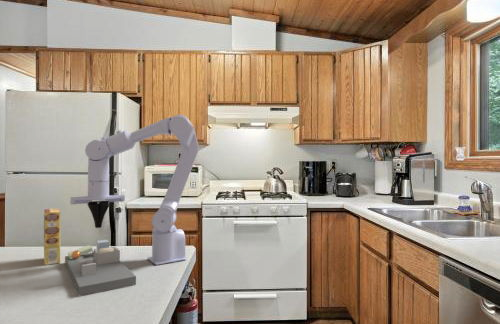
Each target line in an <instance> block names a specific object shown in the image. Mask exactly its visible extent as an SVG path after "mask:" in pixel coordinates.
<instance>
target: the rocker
mask: <svg viewBox="0 0 500 324" xmlns="http://www.w3.org/2000/svg"><path fill="white" fill-rule="evenodd" d="M74 251H79V252H80V253H81V255H84V254H86V253H92V252H93V251H94V249H93V247H92V246H91V245H90V244H88V245H86V246H82V247H80V248H77V249H75V250H71V251H69V252H67V256H69V258H70V259H73V258H72V253H73V252H74Z"/></svg>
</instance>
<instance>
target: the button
mask: <svg viewBox="0 0 500 324" xmlns="http://www.w3.org/2000/svg"><path fill="white" fill-rule="evenodd" d="M110 251H114V248H102V249H100V250H99V253H103V252H110Z"/></svg>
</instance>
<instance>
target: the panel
mask: <svg viewBox="0 0 500 324" xmlns="http://www.w3.org/2000/svg"><path fill="white" fill-rule="evenodd" d="M108 248H114V251H110V252H103V253H99V250H100V249H97V248H96V249H93V251H91V252H89V253H86V254H84V255H81V257H82V259H83V260H84V261H85V262H86V263H87V264H85V265H81V264H80V263H79V261H78V260H77V259H70V258H69V256H68V255H66V256H64V264H65V266H66V269H67V270H68V273H69V275H70V278H71V280H72V283H73V285H74V287H75V289H76V291H77V294H78V296H79V297H81V296H82V297H83V296H88V295H92V294H97V293H102V292H103V293H104V292H108V291H112V290H116V289H122V288H126V287H131V286H136V285H137V276H136V275H135V274H134V273H133V272H132V271H131V270H130V269H129V268H128V267H127V266H126V265H125V264H124V263H123V262H121V259H120V257H121V254H120V253H121V251H120V249H119V248H118V247H116V246H109V247H108ZM101 249H102V248H101Z"/></svg>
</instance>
